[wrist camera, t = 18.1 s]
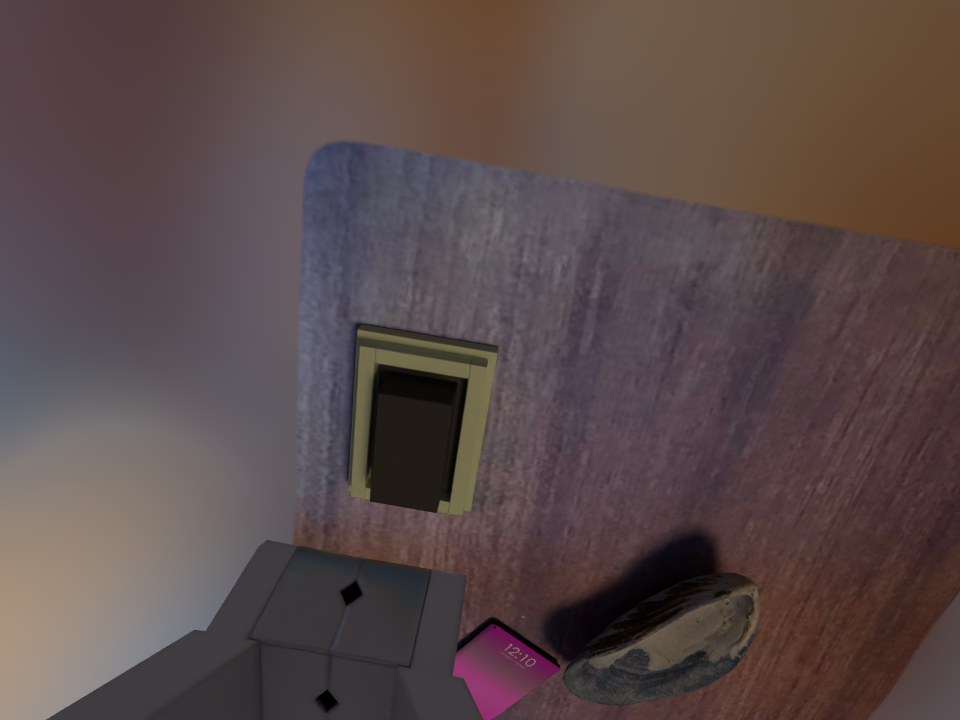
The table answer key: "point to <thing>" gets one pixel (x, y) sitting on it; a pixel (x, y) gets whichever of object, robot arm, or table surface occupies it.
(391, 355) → the pad
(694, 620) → the seashell
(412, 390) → the black pad
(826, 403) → the table surface
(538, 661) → the smartphone
